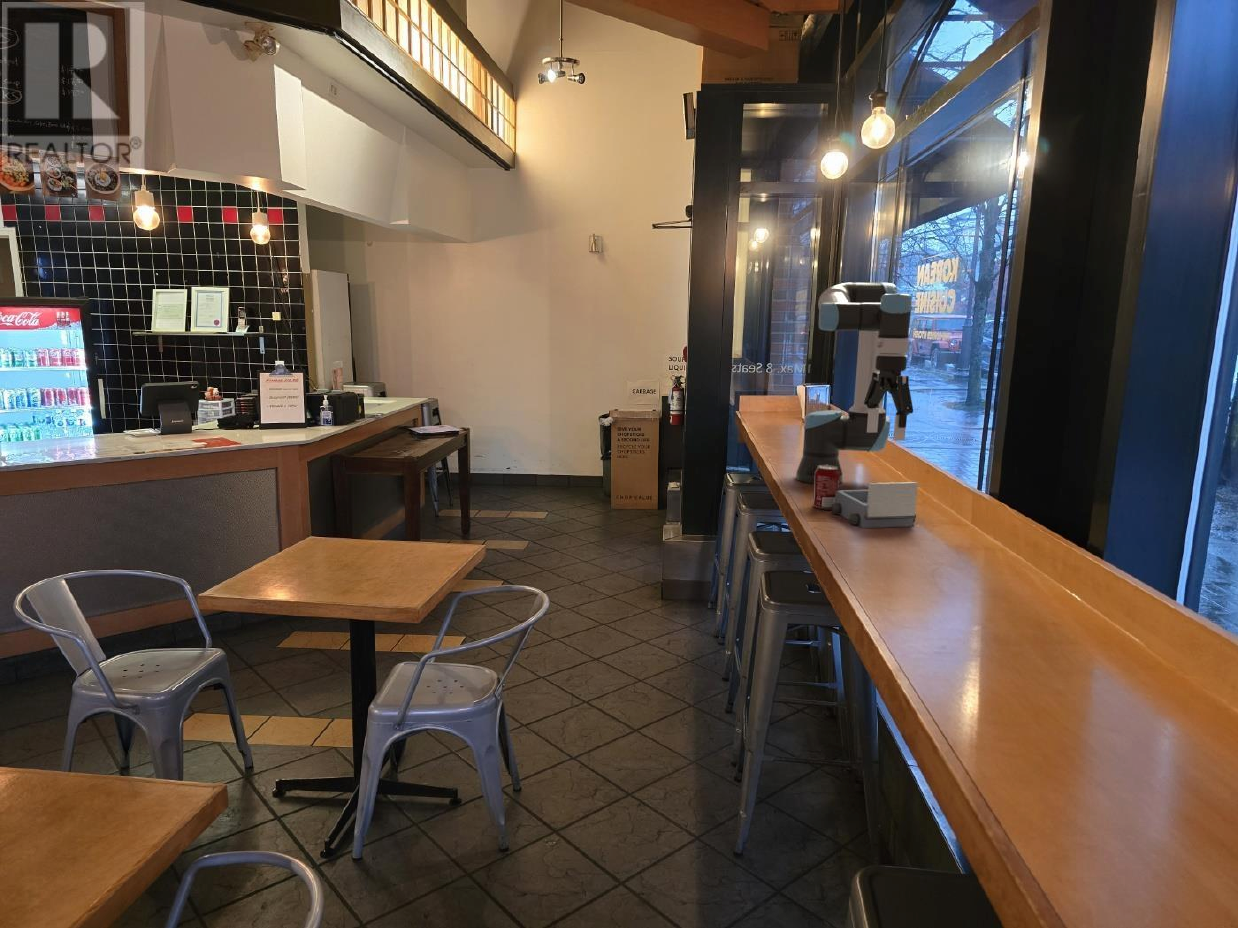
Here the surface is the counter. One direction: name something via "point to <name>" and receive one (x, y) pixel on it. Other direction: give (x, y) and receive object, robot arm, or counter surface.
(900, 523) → the box
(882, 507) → the panel
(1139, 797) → the counter surface
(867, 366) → the robot arm
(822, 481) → the soda can
